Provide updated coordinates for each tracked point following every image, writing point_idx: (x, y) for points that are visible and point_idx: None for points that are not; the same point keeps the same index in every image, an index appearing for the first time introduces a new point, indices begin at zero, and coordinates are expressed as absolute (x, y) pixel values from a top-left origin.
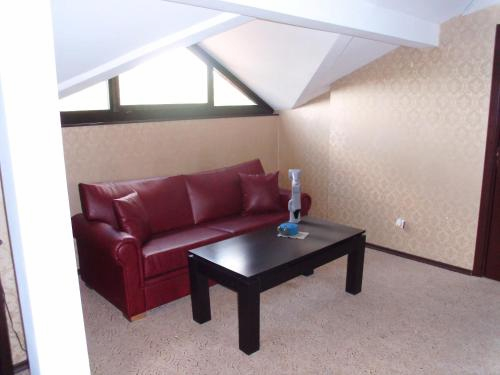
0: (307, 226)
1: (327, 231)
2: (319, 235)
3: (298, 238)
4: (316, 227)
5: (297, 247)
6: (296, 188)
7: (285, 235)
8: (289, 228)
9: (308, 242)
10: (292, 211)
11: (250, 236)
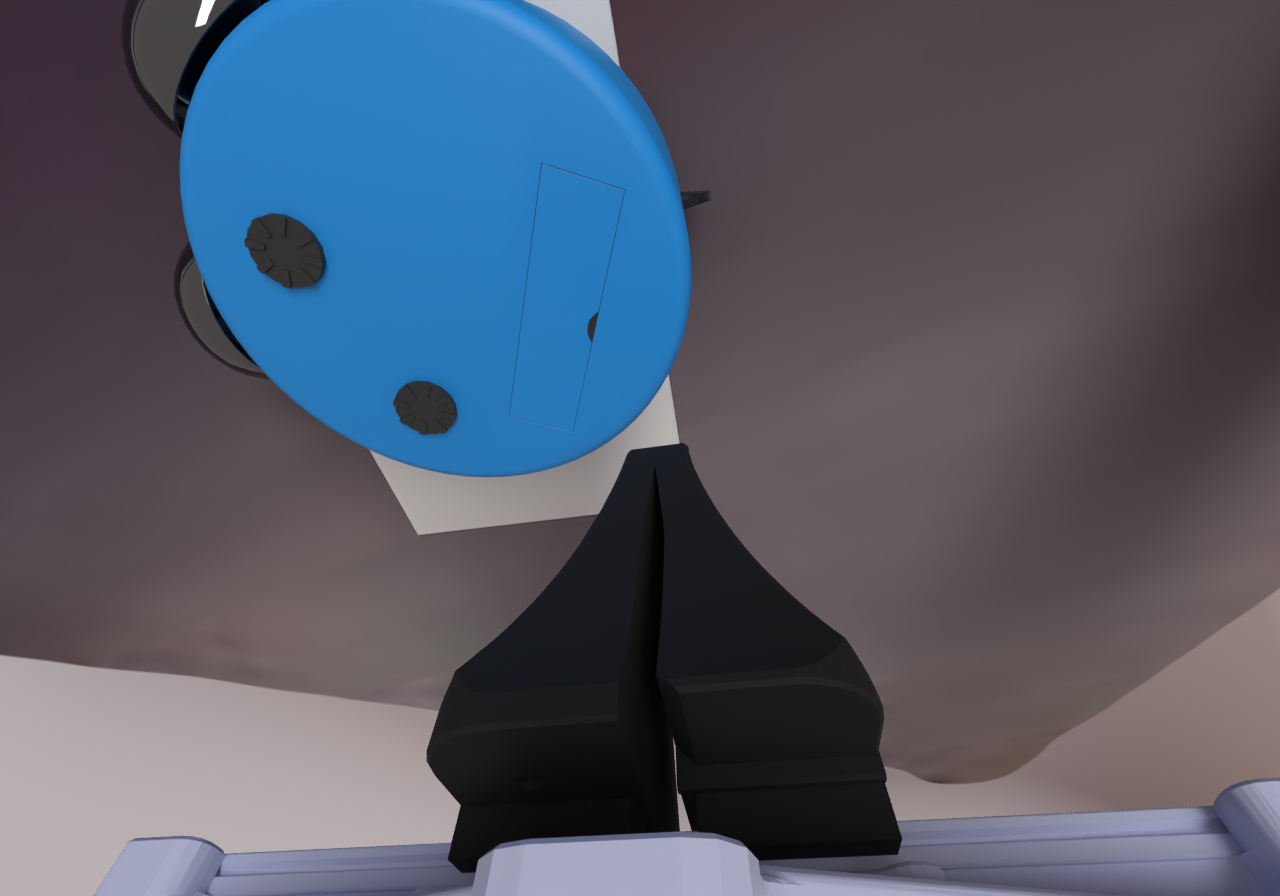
0: (1087, 330)
1: (875, 619)
2: None
3: (388, 477)
4: (1040, 471)
5: (146, 576)
6: None
7: None
8: (290, 395)
9: (378, 599)
10: (146, 858)
11: None
